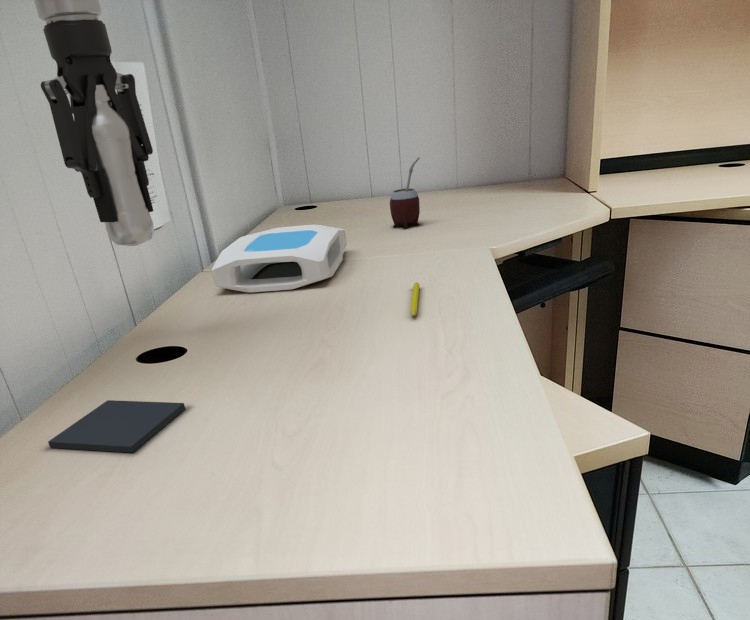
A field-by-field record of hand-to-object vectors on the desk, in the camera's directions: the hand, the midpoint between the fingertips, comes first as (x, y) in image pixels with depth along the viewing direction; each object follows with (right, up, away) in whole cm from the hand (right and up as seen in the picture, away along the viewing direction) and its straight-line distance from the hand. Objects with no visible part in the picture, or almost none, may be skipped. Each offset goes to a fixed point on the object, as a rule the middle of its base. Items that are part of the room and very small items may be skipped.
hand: (127, 216), depth 96 cm
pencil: (+42, -10, +10) cm, 45 cm away
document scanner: (+18, +5, +37) cm, 42 cm away
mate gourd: (+44, +25, +64) cm, 82 cm away
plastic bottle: (0, -3, +2) cm, 4 cm away
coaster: (+6, -33, -19) cm, 38 cm away
